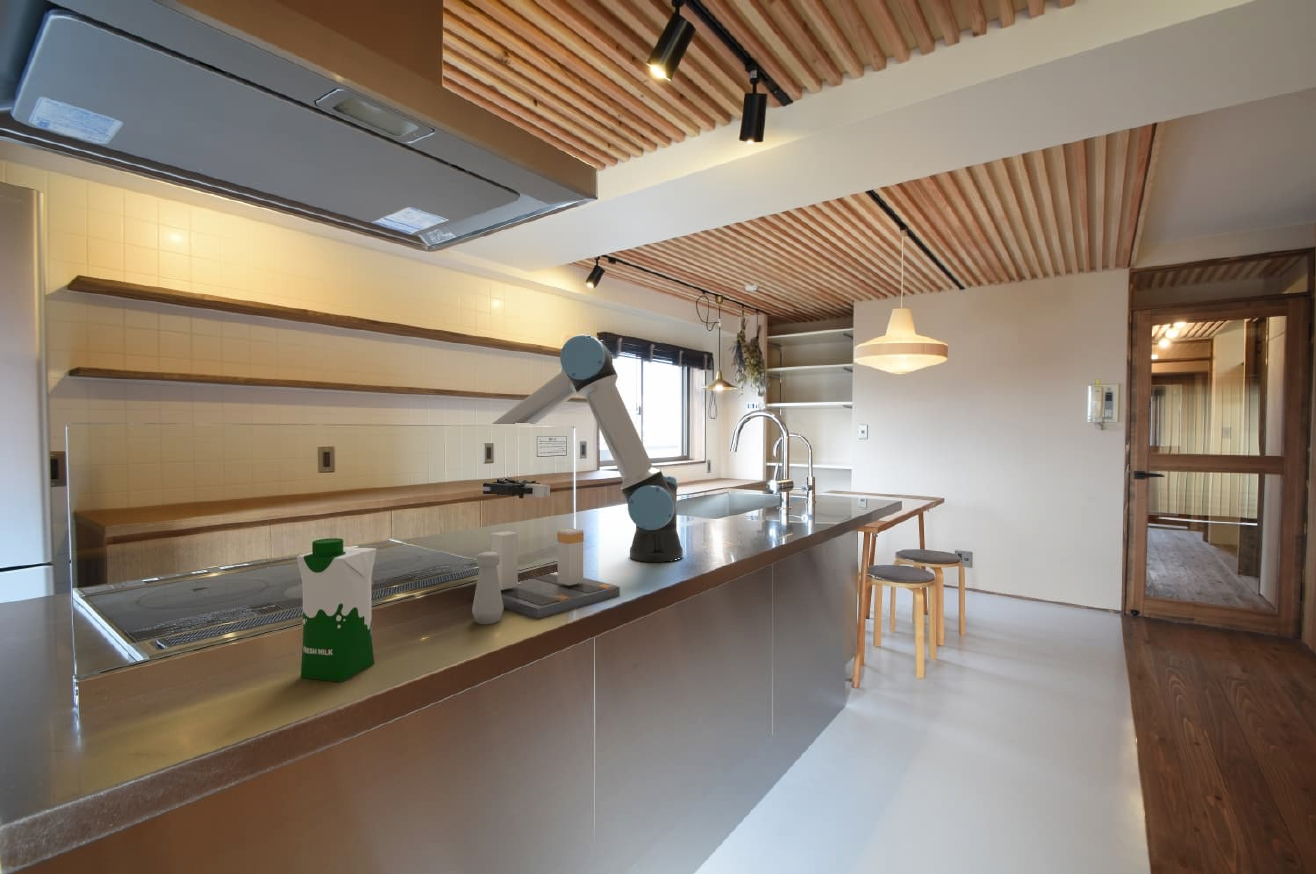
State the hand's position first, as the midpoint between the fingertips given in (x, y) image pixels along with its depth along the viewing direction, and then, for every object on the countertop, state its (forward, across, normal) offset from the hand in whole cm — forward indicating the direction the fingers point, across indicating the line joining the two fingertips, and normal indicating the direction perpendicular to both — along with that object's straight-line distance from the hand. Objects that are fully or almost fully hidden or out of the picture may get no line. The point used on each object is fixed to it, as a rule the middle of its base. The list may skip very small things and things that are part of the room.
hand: (545, 491), depth 139 cm
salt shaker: (+12, +23, -22) cm, 34 cm away
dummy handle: (+1, +12, -19) cm, 23 cm away
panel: (+7, +5, -22) cm, 24 cm away
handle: (+9, 0, -19) cm, 21 cm away
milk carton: (+16, +51, -22) cm, 58 cm away
